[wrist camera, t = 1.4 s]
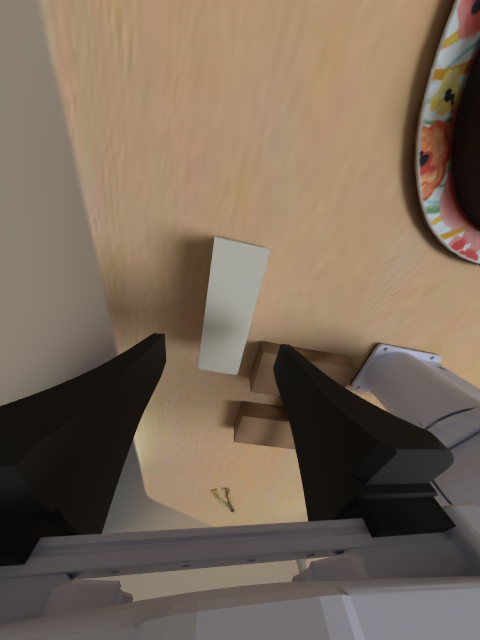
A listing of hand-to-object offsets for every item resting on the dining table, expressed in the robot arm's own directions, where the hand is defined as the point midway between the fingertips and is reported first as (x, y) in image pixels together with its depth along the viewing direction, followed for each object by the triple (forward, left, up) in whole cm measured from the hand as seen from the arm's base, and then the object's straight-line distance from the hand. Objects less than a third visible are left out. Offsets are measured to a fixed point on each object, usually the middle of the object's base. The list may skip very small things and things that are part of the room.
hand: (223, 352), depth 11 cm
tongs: (-9, +51, -11) cm, 53 cm away
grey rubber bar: (0, 0, -10) cm, 10 cm away
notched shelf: (-11, +14, -10) cm, 20 cm away
